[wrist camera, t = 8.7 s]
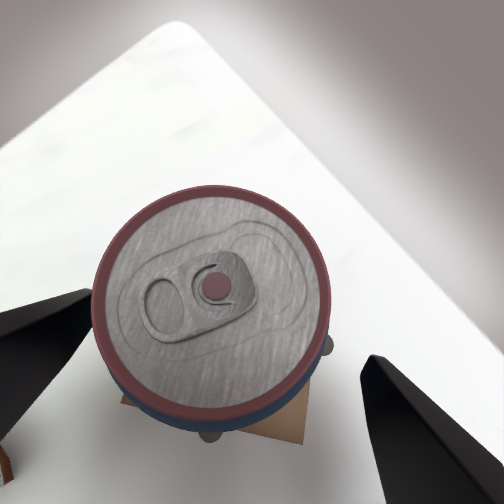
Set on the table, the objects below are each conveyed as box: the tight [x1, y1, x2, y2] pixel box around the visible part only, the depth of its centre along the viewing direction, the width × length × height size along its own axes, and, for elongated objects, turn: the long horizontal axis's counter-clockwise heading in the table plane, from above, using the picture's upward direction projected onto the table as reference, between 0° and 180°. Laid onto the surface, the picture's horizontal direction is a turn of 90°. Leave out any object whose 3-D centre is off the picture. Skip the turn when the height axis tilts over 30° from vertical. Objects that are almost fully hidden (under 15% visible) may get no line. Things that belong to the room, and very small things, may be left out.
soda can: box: [91, 185, 331, 433], centre depth 12 cm, size 7×7×12 cm
